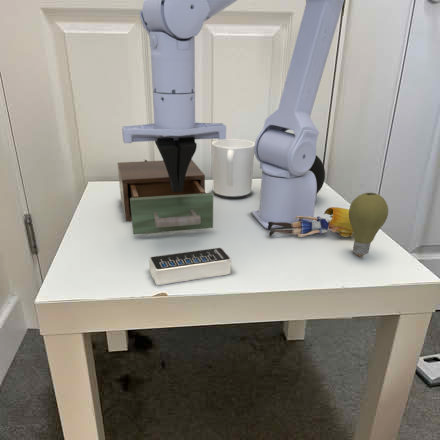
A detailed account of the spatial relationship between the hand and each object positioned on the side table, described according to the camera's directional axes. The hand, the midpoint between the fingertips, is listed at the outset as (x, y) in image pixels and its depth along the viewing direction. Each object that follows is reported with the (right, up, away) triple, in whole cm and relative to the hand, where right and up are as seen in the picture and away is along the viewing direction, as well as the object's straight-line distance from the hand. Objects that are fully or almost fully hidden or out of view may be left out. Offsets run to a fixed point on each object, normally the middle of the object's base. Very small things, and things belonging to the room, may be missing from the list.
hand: (176, 190), depth 68 cm
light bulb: (+28, -10, +3) cm, 30 cm away
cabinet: (-5, +1, +20) cm, 20 cm away
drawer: (-2, -4, +10) cm, 11 cm away
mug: (+9, +5, +28) cm, 30 cm away
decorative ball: (+22, +4, +26) cm, 34 cm away
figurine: (+22, -6, +9) cm, 25 cm away
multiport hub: (+2, -13, -3) cm, 13 cm away
